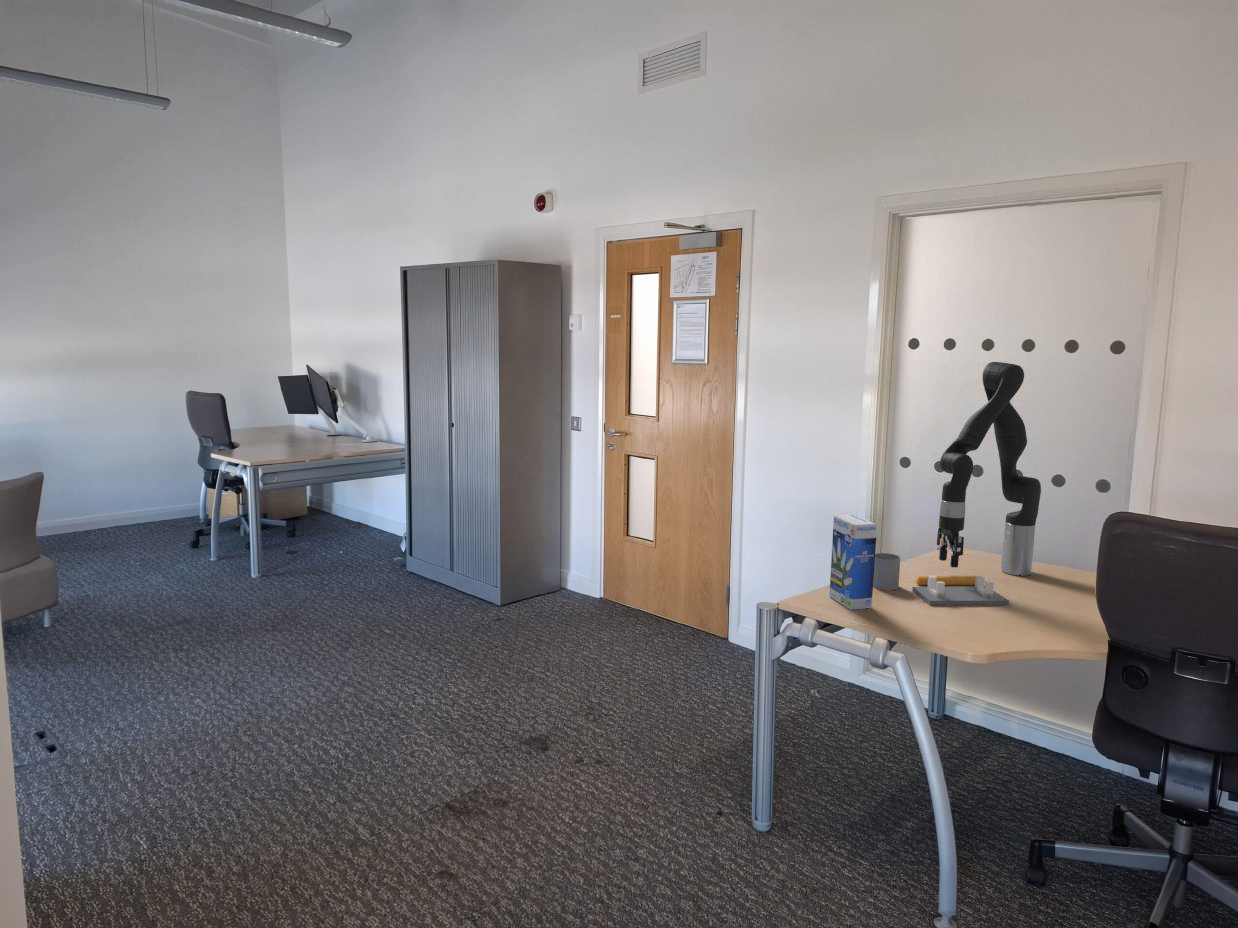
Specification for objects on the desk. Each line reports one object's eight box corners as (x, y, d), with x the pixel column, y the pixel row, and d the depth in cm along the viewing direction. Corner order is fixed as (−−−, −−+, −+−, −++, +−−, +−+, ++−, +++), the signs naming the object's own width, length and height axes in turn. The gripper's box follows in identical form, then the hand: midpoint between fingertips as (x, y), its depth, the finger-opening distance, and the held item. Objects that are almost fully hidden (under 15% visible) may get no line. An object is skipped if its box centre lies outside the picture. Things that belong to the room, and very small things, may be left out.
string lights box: (828, 596, 257) (832, 515, 253) (850, 594, 259) (854, 513, 255) (850, 610, 244) (855, 524, 240) (873, 608, 246) (878, 523, 242)
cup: (889, 592, 262) (891, 561, 260) (866, 586, 268) (868, 556, 266) (903, 586, 267) (905, 556, 266) (880, 581, 273) (882, 551, 272)
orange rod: (919, 586, 268) (920, 577, 268) (915, 583, 271) (916, 574, 271) (982, 586, 269) (983, 577, 268) (978, 583, 272) (979, 574, 272)
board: (912, 591, 263) (913, 572, 262) (987, 591, 263) (988, 572, 263) (929, 605, 249) (931, 586, 248) (1008, 605, 250) (1010, 586, 249)
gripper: (973, 519, 259) (969, 569, 262) (954, 510, 273) (950, 558, 276) (950, 518, 259) (946, 569, 261) (931, 509, 273) (927, 557, 275)
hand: (948, 563), depth 269 cm, fingers open, 8 cm apart
